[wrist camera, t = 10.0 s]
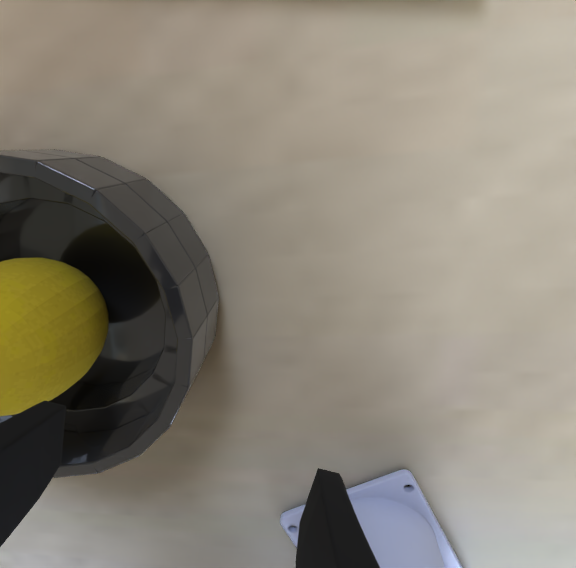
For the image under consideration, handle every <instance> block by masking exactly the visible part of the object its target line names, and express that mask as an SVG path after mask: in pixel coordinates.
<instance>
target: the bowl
mask: <svg viewBox="0 0 576 568" xmlns="http://www.w3.org/2000/svg"><path fill="white" fill-rule="evenodd" d="M15 258H47V259H51V260H56V261H61V262H63V263H66V264H68V265H70V266H72V267H74V268H76V269H79V270H80V271H81V272H82V273H84V274H85V275H86V276H88V277H89V278H90V279H91V280H92V281H93V282H94V284H95V285H96V286H97V287H98V288H99V290H100V292H101V294H102V296H103V298H104V299H105V303H106V306H107V310H108V333H107V336H106V340H105V343H104V346H103V349H102V351H101V353H100V354H99V356H98V357H97V359H96V360H95V362H94V363H93V365H92V366H91V368H90V369H89V370H88V372H87V373H86V374H85V375H84V376H83V377H82V378H81V379H80V380H78V381H77V382H76V383H75V384H73V385H72V386H71V387H70V388H68V389H67V390H66V391H64V392H63V393H62V394H60V395H59V396H57V397H55V398H54V399H52V400H50V401H49V402H53V403H57V404H61V405H65V406H66V413H65V425H64V437H63V448H62V460H61V465H60V466H59V468H58V469H57V471H56V473H55V474H54V476H53V477H54V478H58V477H68V476H78V475H88V474H97V473H101V472H103V471H105V470H108V469H110V468H112V467H115V466H117V465H119V464H122V463H124V462H126V461H129V460H131V459H133V458H136V457H138V456H140V455H141V454H142V453H143V452H144V451H145V450H146V449H147V448H149V447H150V446H151V445H152V444H153V443H154V442H155V441H156V440H157V439H158V438H159V437H160V436H161V435H162V434H164V433H165V432H166V431H167V430H168V429H169V428H170V426H171V425H172V423H173V421H174V419H175V417H176V415H177V413H178V411H179V409H180V407H181V405H182V403H183V401H184V399H185V398H186V396H187V393H188V392H189V390H190V388H191V386H192V384H193V382H194V380H195V378H196V376H197V374H198V372H199V370H200V368H201V366H202V364H203V362H204V360H205V358H206V356H207V353H208V351H209V349H210V347H211V345H212V343H213V341H214V338H215V336H216V325H217V314H218V303H219V295H218V290H217V286H216V282H215V278H214V274H213V270H212V265H211V261H210V257H209V255H208V252H207V250H206V249H205V247H204V245H203V244H202V242H201V240H200V239H199V237H198V235H197V234H196V232H195V230H194V229H193V227H192V225H191V223H190V222H189V220H188V218H187V217H186V215H185V214H183V211H182V210H181V209H179V208H178V207H177V206H176V205H175V204H174V203H173V202H172V201H171V200H170V199H169V198H168V197H166V196H165V195H164V194H163V193H162V192H161V191H160V190H159V189H158V188H157V187H156V186H155V185H153V184H152V183H151V182H150V181H149V180H148V179H147V180H146V178H144V177H142V176H140V175H138V174H136V173H134V172H132V171H130V170H128V169H126V168H124V167H122V166H120V165H118V164H116V163H114V162H112V161H110V160H108V159H106V158H104V157H100V156H96V155H89V154H82V153H76V152H69V151H62V150H56V149H53V150H52V149H50V150H0V262H2V261H5V260H10V259H15ZM18 414H19V413H18ZM15 415H17V414H14V415H6V416H0V423H1V422H3V421H5V420H7V419H9V418H11V417H13V416H15Z"/></svg>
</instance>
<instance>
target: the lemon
mask: <svg viewBox="0 0 576 568" xmlns="http://www.w3.org/2000/svg"><path fill="white" fill-rule="evenodd" d="M107 333H108V310H107V306H106V303H105V299H104V298H103V296H102V294H101V292H100V290H99V288H98V287H97V286H96V285H95V284H94V282H93V281H92V280H91V279H90V278H89V277H88V276H86V275H85V274H84V273H82V272H81V271H80V270H79V269H76V268H74V267H72V266H70V265H68V264H66V263H63V262H61V261H56V260H51V259H47V258H15V259H10V260H5V261H2V262H0V416H6V415H14V414H18V413H21V412H23V411H25V410H26V409H28V408H30V407H32V406H34V405H36V404H38V403H40V402H42V401H50V400H52V399H54V398H55V397H57V396H59V395H60V394H62V393H63V392H64V391H66V390H67V389H68V388H70V387H71V386H72V385H73V384H75V383H76V382H77V381H78V380H80V379H81V378H82V377H83V376H84V375H85V374H86V373H87V372H88V370H89V369H90V368H91V366H92V365H93V363H94V362H95V360H96V359H97V357H98V356H99V354H100V353H101V351H102V349H103V346H104V343H105V340H106V336H107Z"/></svg>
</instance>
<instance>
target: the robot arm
mask: <svg viewBox="0 0 576 568" xmlns="http://www.w3.org/2000/svg"><path fill="white" fill-rule="evenodd" d="M65 413H66V406H65V405H61V404H57V403H53V402H49V401H42V402H40V403H38V404H36V405H34V406H32V407H30V408H28V409H26V410H25V411H23V412H21V413H19V414H17V415H15V416H13V417H11V418H9V419H7V420H5V421H3V422H1V423H0V547H1V545H2V544H3V543H4V542H5V541H6V539H7V538H8V537H9V536H10V534H11V533H12V532H13V531H14V529H15V528H16V527H17V526H18V524H19V523H20V522H21V521H22V519H23V518H24V517H25V516H26V514H27V513H28V512H29V511H30V509H31V508H32V507H33V506H34V504H35V503H36V502H37V500H38V499H39V498H40V496H41V495H42V493H43V492H44V490H45V489H46V487H47V485H48V484H49V482H50V481H51V479H52V478H53V476H54V474H55V473H56V471H57V469H58V468H59V466H60V465H61V460H62V448H63V437H64V425H65ZM406 485H411V486H409V487H405V486H406ZM280 524H281V526H282V527H283V529H284V530H285V532H286V533H287V535H288V536H289V538H290V539H291V541H292V542H293V544H294V545H295V547H296V548H297V553H296V568H463V567H462V565H461V563H460V562H459V560H458V558H457V556H456V554H455V552H454V550H453V549H452V547H451V545H450V543H449V541H448V539H447V537H446V536H445V534H444V532H443V530H442V528H441V526H440V524H439V523H438V521H437V519H436V517H435V515H434V513H433V511H432V509H431V508H430V506H429V504H428V502H427V500H426V498H425V496H424V495H423V493H422V491H421V489H420V487H419V485H418V483H417V482H416V480H415V478H414V476H413V474H412V473H411V472H410V471H409V470H405V469H403V470H399V471H396V472H393V473H390V474H387V475H385V476H382V477H379V478H376V479H374V480H371V481H368V482H365V483H363V484H360V485H357V486H354V487H351V488H349V489H346V488H345V486H344V483H343V480H342V477H341V476H340V474H339V473H335V472H331V471H327V470H323V469H319V468H318V470H317V473H316V476H315V479H314V482H313V484H312V487H311V490H310V493H309V496H308V499H307V502H306V504H304V505H302V506H299V507H296V508H293V509H291V510H288V511H285V512H283V513H282V514H281V517H280ZM292 526H295V527H292Z"/></svg>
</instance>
